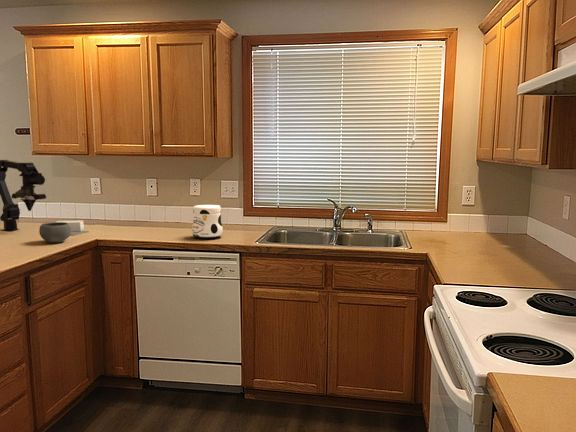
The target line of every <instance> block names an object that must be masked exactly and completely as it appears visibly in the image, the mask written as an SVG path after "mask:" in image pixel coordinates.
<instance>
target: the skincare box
mask: <svg viewBox="0 0 576 432" xmlns="http://www.w3.org/2000/svg"><path fill="white" fill-rule="evenodd" d="M56 222H65V223H68V224H69V226H70V230H71V231H70V232H79V231H84V228H85V226H84V220H79V219H78V220H57V221H56Z"/></svg>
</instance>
